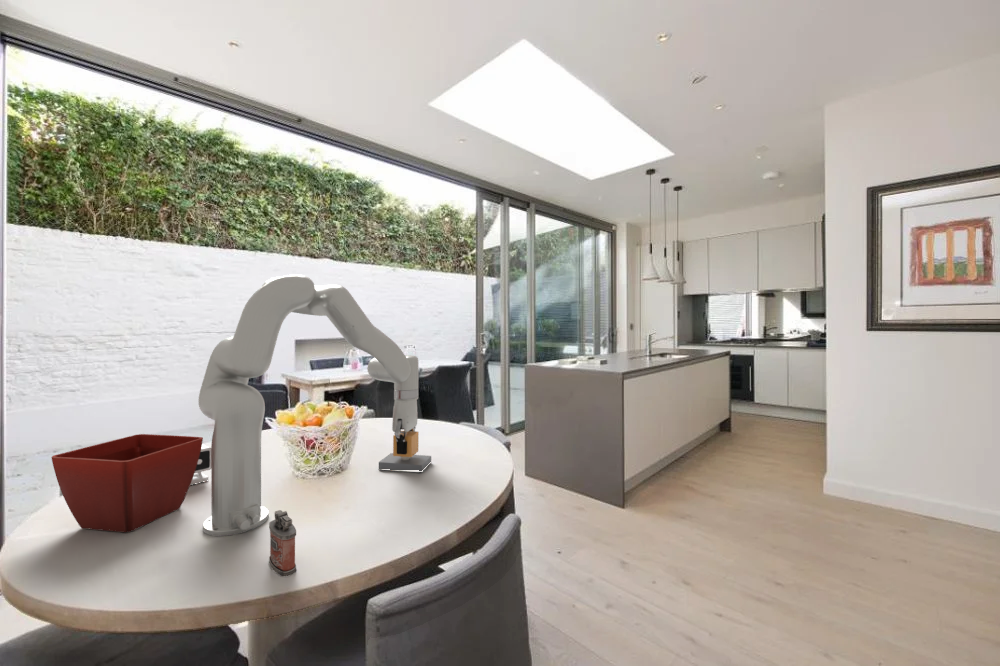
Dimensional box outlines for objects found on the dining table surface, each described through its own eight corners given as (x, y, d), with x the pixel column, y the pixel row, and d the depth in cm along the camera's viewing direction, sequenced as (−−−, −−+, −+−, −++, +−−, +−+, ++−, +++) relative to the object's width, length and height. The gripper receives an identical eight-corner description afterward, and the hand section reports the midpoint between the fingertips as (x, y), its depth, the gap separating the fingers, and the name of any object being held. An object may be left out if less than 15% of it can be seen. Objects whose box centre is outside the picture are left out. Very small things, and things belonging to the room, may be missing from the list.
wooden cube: (418, 451, 134) (418, 431, 134) (411, 457, 128) (411, 436, 128) (400, 450, 135) (400, 430, 135) (393, 455, 129) (393, 435, 129)
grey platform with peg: (431, 463, 135) (431, 440, 134) (421, 473, 126) (421, 448, 126) (390, 460, 137) (391, 438, 137) (378, 470, 128) (378, 446, 128)
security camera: (185, 489, 112) (185, 452, 112) (177, 482, 116) (176, 447, 116) (212, 482, 117) (212, 447, 117) (203, 476, 121) (203, 442, 121)
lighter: (265, 561, 79) (265, 509, 79) (283, 554, 81) (284, 504, 81) (280, 579, 73) (280, 523, 73) (300, 571, 76) (300, 517, 76)
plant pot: (139, 497, 106) (139, 432, 106) (205, 503, 103) (205, 436, 103) (48, 535, 87) (47, 456, 87) (126, 543, 84) (126, 461, 84)
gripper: (405, 389, 140) (405, 442, 140) (383, 398, 123) (383, 458, 123) (426, 390, 139) (426, 443, 139) (407, 399, 122) (406, 460, 122)
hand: (406, 450), depth 131 cm, fingers closed on wooden cube, 5 cm apart
